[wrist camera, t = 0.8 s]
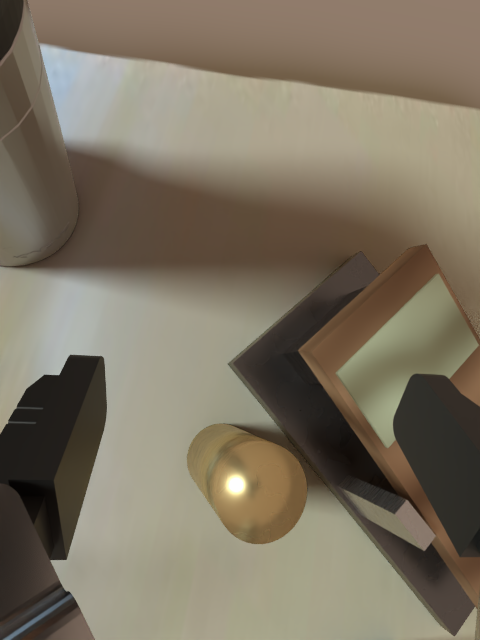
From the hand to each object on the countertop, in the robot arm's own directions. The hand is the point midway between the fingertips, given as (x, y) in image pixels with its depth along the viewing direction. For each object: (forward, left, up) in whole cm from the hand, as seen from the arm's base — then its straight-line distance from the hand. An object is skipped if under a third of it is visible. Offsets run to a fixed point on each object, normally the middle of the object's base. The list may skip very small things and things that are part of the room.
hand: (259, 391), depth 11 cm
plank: (+16, +12, -14) cm, 24 cm away
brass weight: (+7, -1, -21) cm, 22 cm away
